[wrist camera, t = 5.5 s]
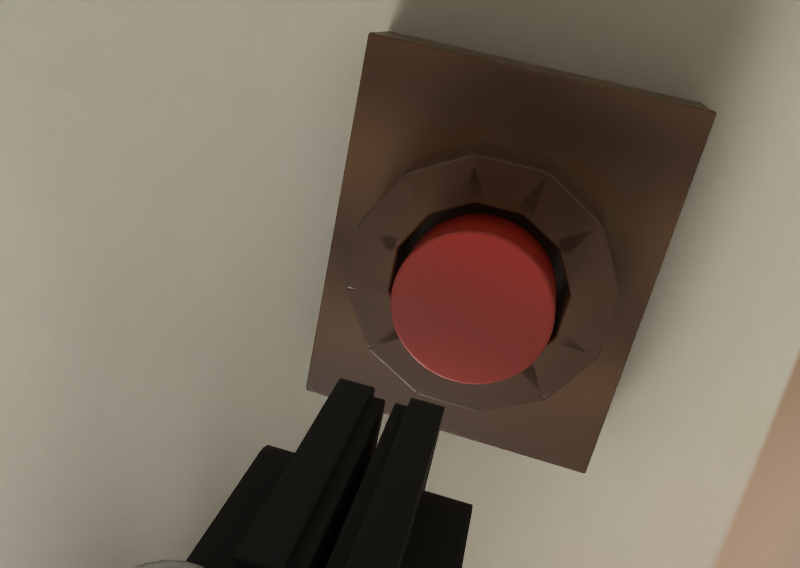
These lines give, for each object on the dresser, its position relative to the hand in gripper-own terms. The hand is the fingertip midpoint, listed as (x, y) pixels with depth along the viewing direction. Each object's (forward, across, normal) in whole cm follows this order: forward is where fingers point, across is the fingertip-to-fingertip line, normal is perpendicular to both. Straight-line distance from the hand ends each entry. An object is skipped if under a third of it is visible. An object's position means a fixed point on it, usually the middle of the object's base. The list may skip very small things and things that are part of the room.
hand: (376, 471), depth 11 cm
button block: (+12, -1, 0) cm, 12 cm away
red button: (+9, -1, 0) cm, 9 cm away
